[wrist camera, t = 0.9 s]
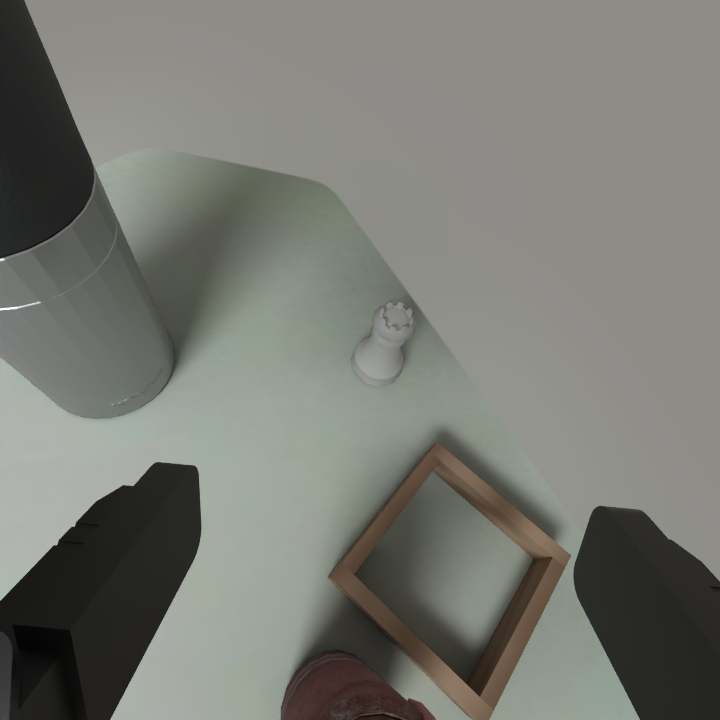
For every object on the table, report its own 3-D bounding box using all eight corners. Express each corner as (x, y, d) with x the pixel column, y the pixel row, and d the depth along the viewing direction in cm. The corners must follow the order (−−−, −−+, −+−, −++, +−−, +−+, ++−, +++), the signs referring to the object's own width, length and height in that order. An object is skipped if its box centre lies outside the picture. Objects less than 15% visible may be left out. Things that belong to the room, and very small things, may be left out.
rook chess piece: (391, 339, 39) (415, 285, 32) (407, 383, 37) (436, 336, 30) (344, 347, 38) (359, 293, 31) (358, 393, 36) (377, 347, 29)
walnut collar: (327, 577, 29) (331, 576, 27) (427, 450, 35) (437, 441, 32) (468, 716, 27) (485, 727, 25) (551, 557, 32) (571, 555, 30)
